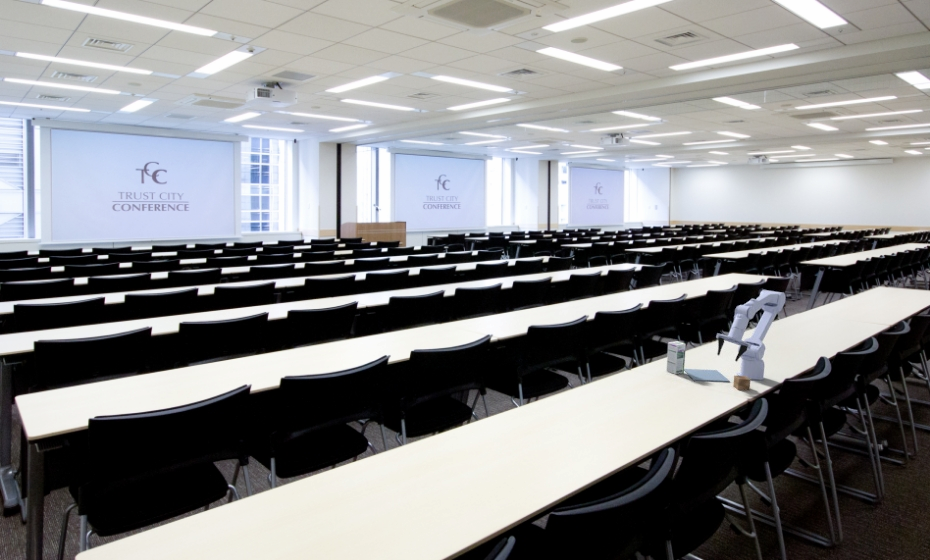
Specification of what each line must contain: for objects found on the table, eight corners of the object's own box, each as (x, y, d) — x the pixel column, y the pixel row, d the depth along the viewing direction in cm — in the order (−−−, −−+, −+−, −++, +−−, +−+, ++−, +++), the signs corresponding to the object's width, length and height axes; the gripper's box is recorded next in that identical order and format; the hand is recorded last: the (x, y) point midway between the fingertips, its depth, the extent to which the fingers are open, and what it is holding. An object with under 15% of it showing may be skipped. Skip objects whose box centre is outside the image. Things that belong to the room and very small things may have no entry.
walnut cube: (744, 386, 260) (745, 376, 259) (749, 390, 255) (750, 379, 254) (733, 386, 260) (734, 375, 259) (737, 390, 255) (738, 379, 255)
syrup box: (675, 374, 275) (677, 344, 273) (665, 371, 280) (668, 341, 278) (684, 373, 277) (686, 343, 275) (674, 369, 283) (676, 340, 280)
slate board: (716, 371, 281) (716, 370, 281) (729, 382, 266) (729, 380, 266) (682, 370, 282) (683, 368, 282) (693, 380, 267) (693, 379, 266)
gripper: (720, 322, 262) (709, 349, 260) (754, 332, 255) (744, 361, 252) (721, 326, 268) (710, 353, 266) (754, 337, 261) (744, 365, 258)
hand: (727, 357), depth 259 cm, fingers open, 7 cm apart
